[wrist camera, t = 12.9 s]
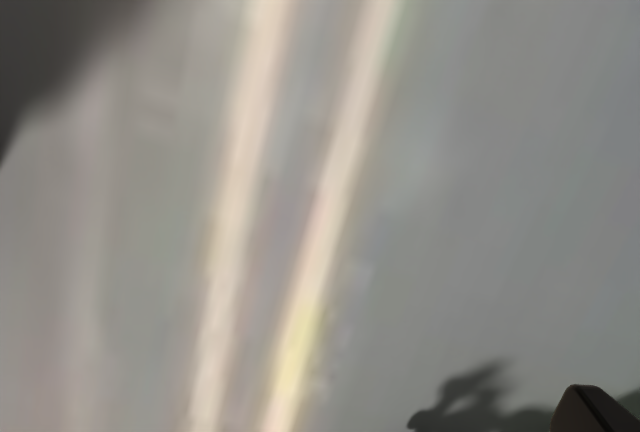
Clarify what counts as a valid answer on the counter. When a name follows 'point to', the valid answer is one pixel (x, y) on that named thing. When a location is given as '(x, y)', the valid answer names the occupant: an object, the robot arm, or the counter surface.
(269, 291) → the counter surface
